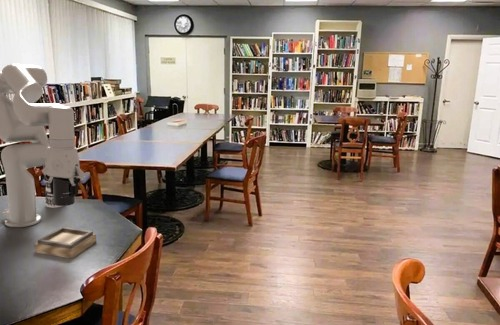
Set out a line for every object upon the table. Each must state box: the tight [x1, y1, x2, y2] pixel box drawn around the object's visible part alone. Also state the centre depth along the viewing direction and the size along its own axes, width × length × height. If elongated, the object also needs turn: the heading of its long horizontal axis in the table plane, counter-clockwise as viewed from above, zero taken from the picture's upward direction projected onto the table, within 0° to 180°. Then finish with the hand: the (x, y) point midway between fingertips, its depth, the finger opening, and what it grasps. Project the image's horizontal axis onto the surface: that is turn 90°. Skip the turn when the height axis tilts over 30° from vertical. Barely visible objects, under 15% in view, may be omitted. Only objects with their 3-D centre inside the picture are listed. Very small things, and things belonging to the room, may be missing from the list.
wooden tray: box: [33, 226, 97, 259], centre depth 134 cm, size 14×14×4 cm
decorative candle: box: [42, 165, 63, 209], centre depth 172 cm, size 9×9×25 cm
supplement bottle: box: [53, 177, 76, 207], centre depth 129 cm, size 7×7×12 cm
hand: (64, 194), depth 130 cm, fingers closed on supplement bottle, 6 cm apart
